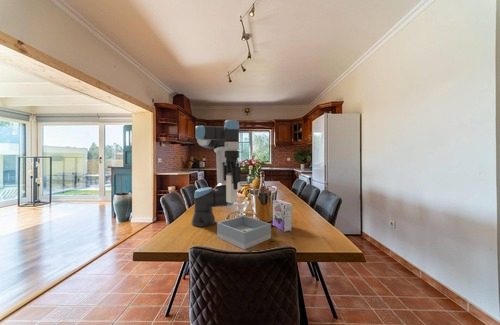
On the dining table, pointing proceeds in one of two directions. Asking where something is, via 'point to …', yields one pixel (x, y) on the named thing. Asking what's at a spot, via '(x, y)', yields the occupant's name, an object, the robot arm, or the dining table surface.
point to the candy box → (282, 215)
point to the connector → (229, 189)
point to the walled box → (244, 231)
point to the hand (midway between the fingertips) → (231, 194)
